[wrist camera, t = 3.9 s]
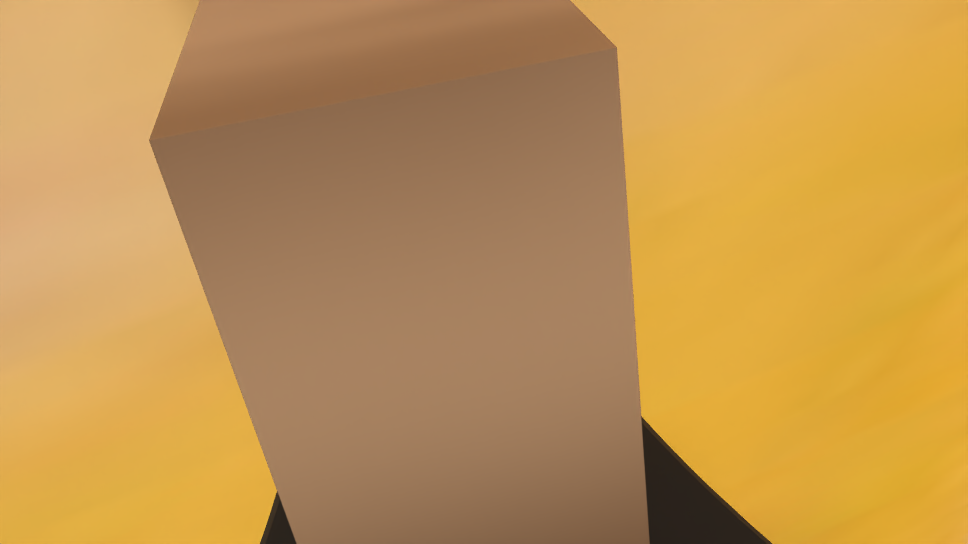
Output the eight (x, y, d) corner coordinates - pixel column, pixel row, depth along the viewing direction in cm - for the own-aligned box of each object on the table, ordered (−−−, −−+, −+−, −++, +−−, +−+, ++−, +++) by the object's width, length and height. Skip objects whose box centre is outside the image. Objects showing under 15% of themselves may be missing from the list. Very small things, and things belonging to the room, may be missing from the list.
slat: (563, 573, 14) (675, 933, 10) (412, 610, 14) (460, 991, 10) (466, -104, 9) (616, 48, 5) (221, -60, 9) (148, 138, 5)
